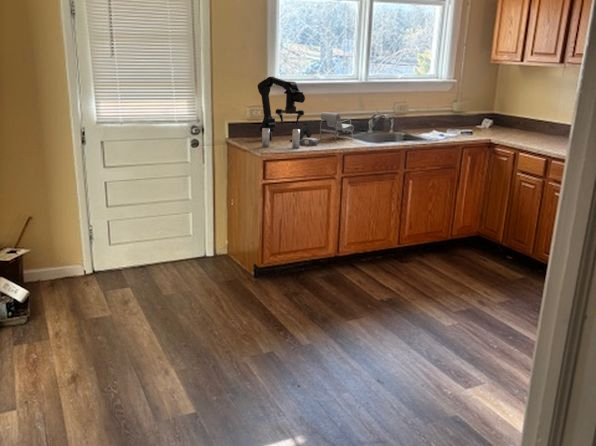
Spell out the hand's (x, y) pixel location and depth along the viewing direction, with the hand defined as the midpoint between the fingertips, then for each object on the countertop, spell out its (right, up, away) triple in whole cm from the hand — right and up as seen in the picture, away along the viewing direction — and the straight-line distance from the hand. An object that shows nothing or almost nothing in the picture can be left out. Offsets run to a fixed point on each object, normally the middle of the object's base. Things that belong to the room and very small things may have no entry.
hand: (289, 125), depth 384 cm
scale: (+13, -11, +8) cm, 19 cm away
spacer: (-15, -16, -9) cm, 24 cm away
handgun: (+10, -5, +29) cm, 31 cm away
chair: (+34, -5, +34) cm, 48 cm away
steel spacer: (+4, -16, -9) cm, 19 cm away
